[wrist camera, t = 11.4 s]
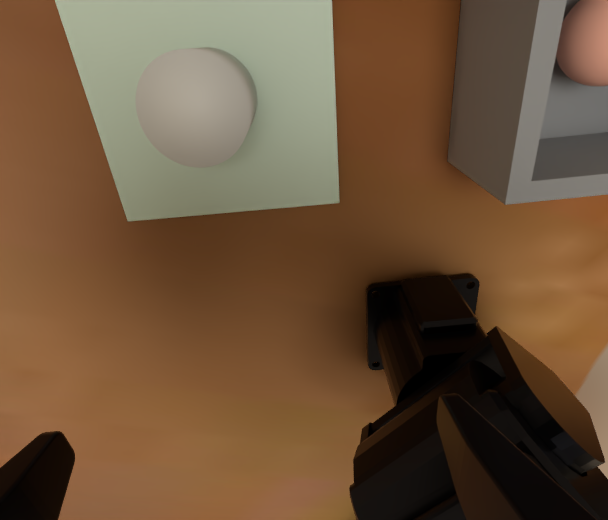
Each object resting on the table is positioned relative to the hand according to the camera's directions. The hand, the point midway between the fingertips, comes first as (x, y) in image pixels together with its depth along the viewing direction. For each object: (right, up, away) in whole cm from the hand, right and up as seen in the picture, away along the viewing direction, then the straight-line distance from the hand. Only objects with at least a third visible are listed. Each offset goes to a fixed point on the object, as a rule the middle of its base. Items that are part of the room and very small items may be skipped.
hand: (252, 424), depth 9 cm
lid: (-3, +12, +9) cm, 15 cm away
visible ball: (+13, +13, +7) cm, 20 cm away
